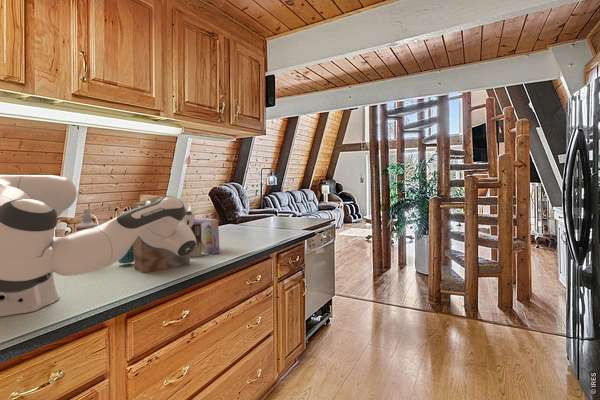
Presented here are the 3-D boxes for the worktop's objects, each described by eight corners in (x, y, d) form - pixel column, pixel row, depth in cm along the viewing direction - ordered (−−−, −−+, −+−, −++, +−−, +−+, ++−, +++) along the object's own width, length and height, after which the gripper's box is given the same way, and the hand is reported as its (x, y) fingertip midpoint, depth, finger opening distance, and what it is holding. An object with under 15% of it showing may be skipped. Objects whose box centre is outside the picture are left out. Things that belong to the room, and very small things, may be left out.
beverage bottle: (128, 267, 145) (126, 221, 143) (114, 266, 146) (113, 220, 145) (138, 263, 151) (137, 219, 150) (125, 262, 152) (123, 218, 151)
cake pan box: (191, 249, 181) (191, 217, 180) (199, 248, 185) (199, 216, 184) (211, 255, 169) (211, 220, 167) (220, 253, 172) (219, 219, 171)
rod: (156, 204, 131) (156, 196, 130) (140, 201, 145) (139, 195, 145) (164, 204, 133) (164, 196, 132) (147, 201, 147) (147, 194, 147)
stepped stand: (142, 273, 136) (140, 203, 134) (134, 268, 143) (132, 202, 142) (189, 264, 149) (188, 201, 148) (180, 260, 157) (179, 200, 155)
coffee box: (200, 253, 171) (199, 222, 170) (202, 256, 165) (201, 224, 164) (181, 255, 168) (180, 223, 167) (182, 258, 162) (181, 225, 161)
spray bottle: (100, 266, 145) (98, 209, 144) (79, 269, 140) (77, 210, 139) (96, 263, 151) (94, 207, 150) (76, 266, 146) (74, 208, 145)
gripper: (140, 231, 119) (130, 209, 128) (195, 226, 133) (183, 207, 141) (143, 217, 116) (132, 195, 125) (199, 213, 130) (185, 194, 139)
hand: (159, 201), depth 133 cm, fingers open, 8 cm apart
